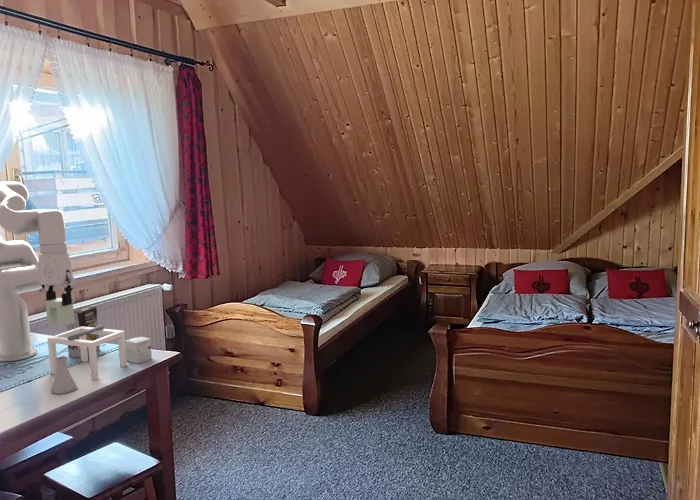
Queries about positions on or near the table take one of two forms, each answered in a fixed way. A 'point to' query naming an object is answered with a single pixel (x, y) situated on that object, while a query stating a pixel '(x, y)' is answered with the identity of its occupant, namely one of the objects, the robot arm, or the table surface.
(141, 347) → the skincare box
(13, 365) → the table surface
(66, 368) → the flask
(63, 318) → the slotted cream block
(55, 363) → the white square frame
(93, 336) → the coffee box
